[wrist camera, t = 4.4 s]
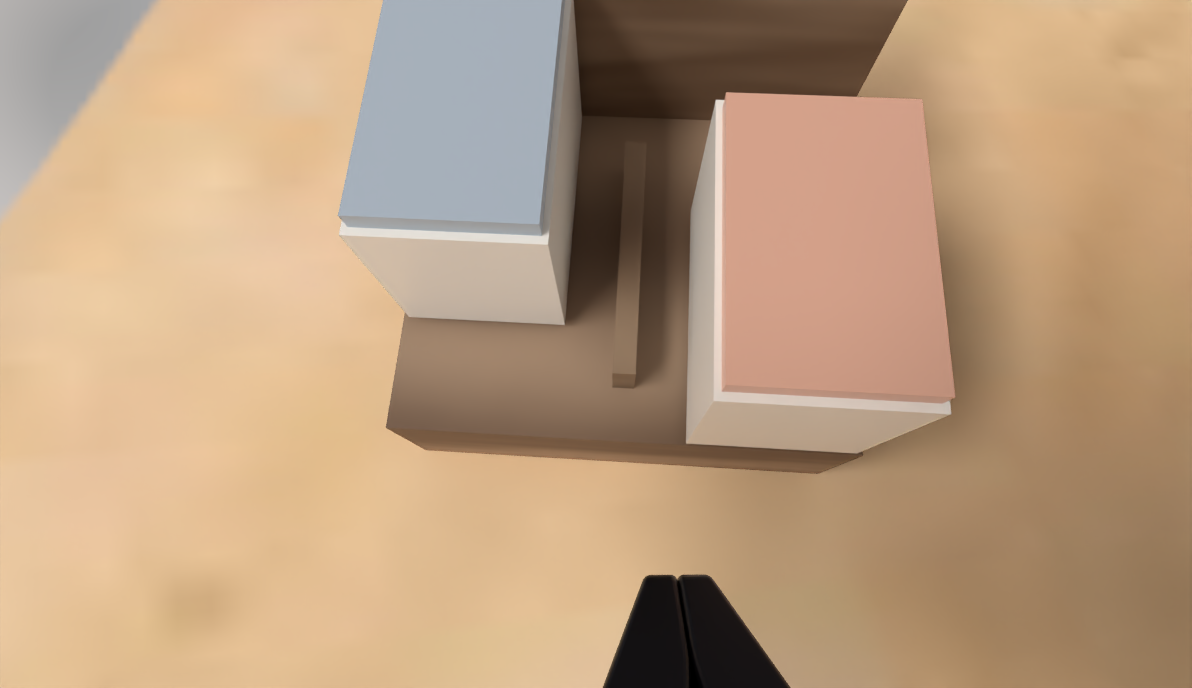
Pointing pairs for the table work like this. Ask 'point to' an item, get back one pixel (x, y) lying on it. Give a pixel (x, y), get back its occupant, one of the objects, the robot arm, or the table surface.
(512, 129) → the slate key
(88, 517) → the table surface
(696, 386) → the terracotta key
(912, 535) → the table surface
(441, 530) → the table surface
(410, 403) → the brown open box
